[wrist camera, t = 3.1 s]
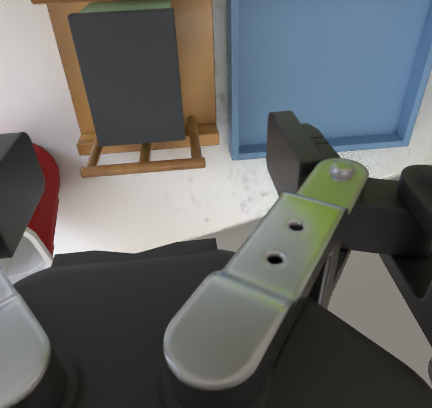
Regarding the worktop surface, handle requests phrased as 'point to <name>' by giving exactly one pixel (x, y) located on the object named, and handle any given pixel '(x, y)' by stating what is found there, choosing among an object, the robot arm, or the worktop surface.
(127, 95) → the tub
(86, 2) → the dish rack
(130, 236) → the worktop surface
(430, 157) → the worktop surface
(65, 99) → the worktop surface
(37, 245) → the plastic cup
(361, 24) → the tray
